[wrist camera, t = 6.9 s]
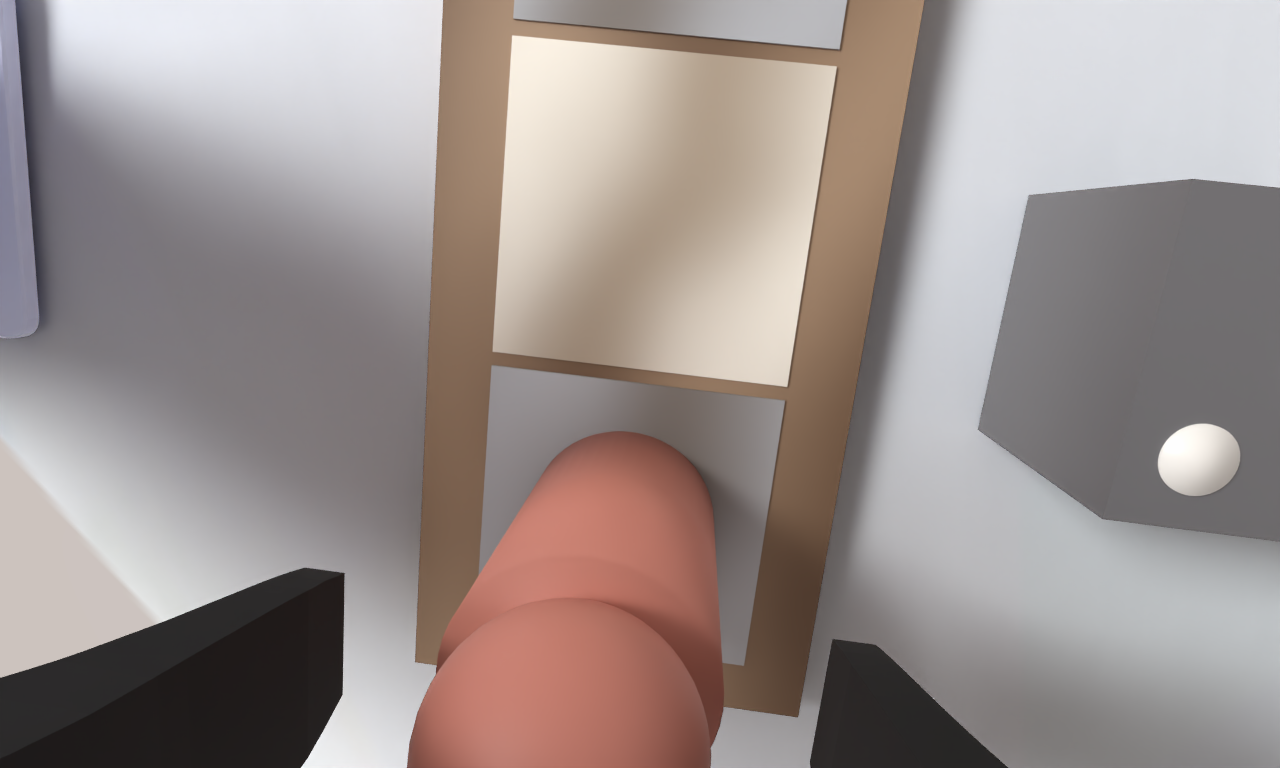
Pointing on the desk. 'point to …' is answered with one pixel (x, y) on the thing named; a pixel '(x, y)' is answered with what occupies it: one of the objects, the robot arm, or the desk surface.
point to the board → (660, 277)
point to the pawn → (587, 624)
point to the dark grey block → (1147, 353)
